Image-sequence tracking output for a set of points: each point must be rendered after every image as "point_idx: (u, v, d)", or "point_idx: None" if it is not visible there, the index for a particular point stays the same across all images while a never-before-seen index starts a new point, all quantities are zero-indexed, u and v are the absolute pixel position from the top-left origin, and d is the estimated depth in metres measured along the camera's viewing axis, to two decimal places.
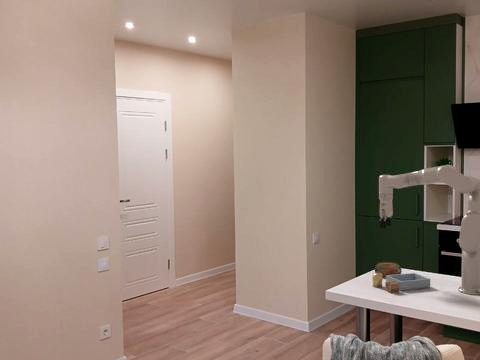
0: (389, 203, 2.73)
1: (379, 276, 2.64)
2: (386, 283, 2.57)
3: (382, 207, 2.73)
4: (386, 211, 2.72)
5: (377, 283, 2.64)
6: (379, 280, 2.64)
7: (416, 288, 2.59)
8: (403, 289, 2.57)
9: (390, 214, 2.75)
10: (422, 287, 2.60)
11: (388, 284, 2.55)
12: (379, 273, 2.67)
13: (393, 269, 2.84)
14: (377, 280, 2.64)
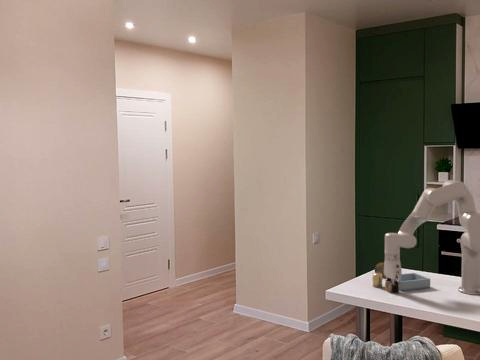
0: None
1: (379, 276, 2.64)
2: (386, 283, 2.57)
3: (396, 269, 2.51)
4: (400, 273, 2.52)
5: (377, 283, 2.64)
6: (379, 280, 2.64)
7: (416, 288, 2.59)
8: (403, 289, 2.57)
9: None
10: (422, 287, 2.60)
11: (388, 284, 2.55)
12: (379, 273, 2.67)
13: None
14: (377, 280, 2.64)
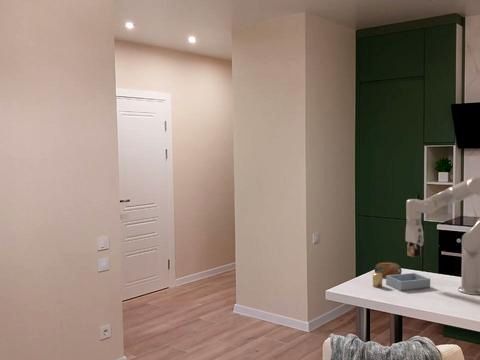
0: None
1: (379, 276, 2.64)
2: (408, 248, 2.66)
3: (419, 233, 2.60)
4: (422, 237, 2.61)
5: (377, 283, 2.64)
6: (379, 280, 2.64)
7: (416, 288, 2.59)
8: (403, 289, 2.57)
9: None
10: (422, 287, 2.60)
11: (410, 248, 2.64)
12: (379, 273, 2.67)
13: (393, 269, 2.84)
14: (377, 280, 2.64)
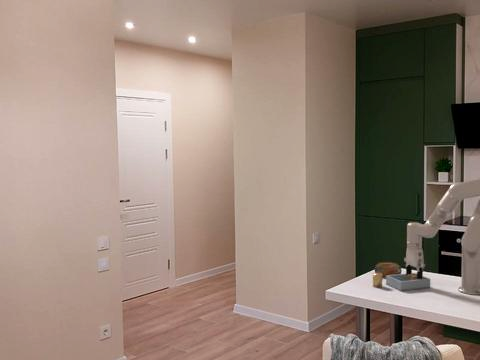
0: None
1: (379, 276, 2.64)
2: (408, 276, 2.67)
3: (419, 257, 2.61)
4: (422, 261, 2.62)
5: (377, 283, 2.64)
6: (379, 280, 2.64)
7: (416, 288, 2.59)
8: (403, 289, 2.57)
9: None
10: (422, 287, 2.60)
11: (410, 277, 2.65)
12: (379, 273, 2.67)
13: (393, 269, 2.84)
14: (377, 280, 2.64)
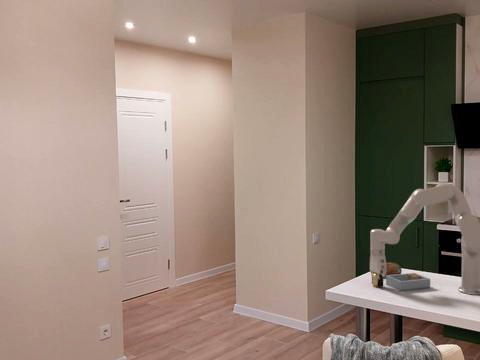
0: None
1: None
2: (408, 276, 2.67)
3: (381, 264, 2.61)
4: (385, 267, 2.62)
5: (377, 283, 2.64)
6: None
7: (416, 288, 2.59)
8: (403, 289, 2.57)
9: None
10: (422, 287, 2.60)
11: (410, 277, 2.65)
12: None
13: (393, 269, 2.84)
14: (377, 280, 2.64)
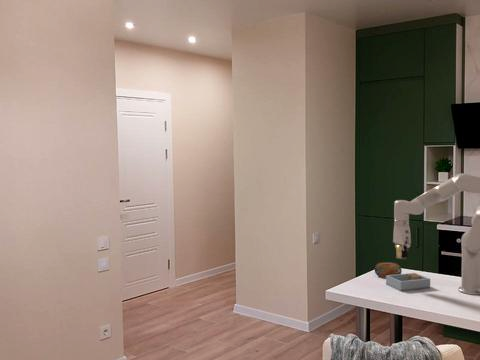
0: None
1: None
2: (408, 276, 2.67)
3: (406, 235, 2.58)
4: (409, 238, 2.59)
5: (401, 254, 2.61)
6: None
7: (416, 288, 2.59)
8: (403, 289, 2.57)
9: None
10: (422, 287, 2.60)
11: (410, 277, 2.65)
12: None
13: (393, 269, 2.84)
14: (401, 251, 2.61)
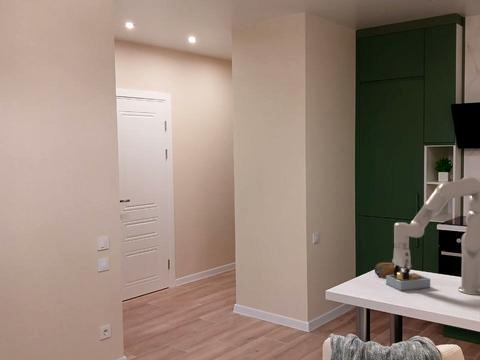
0: None
1: None
2: None
3: (406, 257, 2.59)
4: (409, 261, 2.60)
5: None
6: (403, 279, 2.62)
7: (416, 288, 2.59)
8: (403, 289, 2.57)
9: None
10: (422, 287, 2.60)
11: (410, 277, 2.65)
12: None
13: (393, 269, 2.84)
14: (402, 279, 2.62)
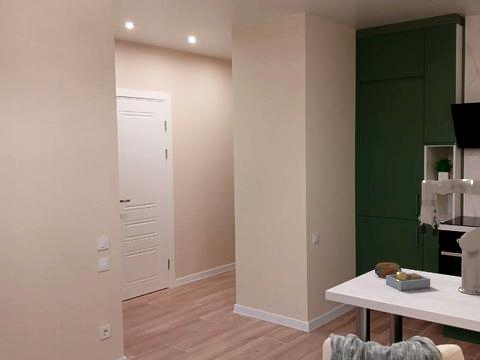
0: None
1: (403, 275, 2.62)
2: (408, 276, 2.67)
3: (434, 214, 2.59)
4: (438, 218, 2.59)
5: None
6: (403, 279, 2.62)
7: (416, 288, 2.59)
8: (403, 289, 2.57)
9: None
10: (422, 287, 2.60)
11: (410, 277, 2.65)
12: (403, 272, 2.65)
13: (393, 269, 2.84)
14: (401, 278, 2.62)
